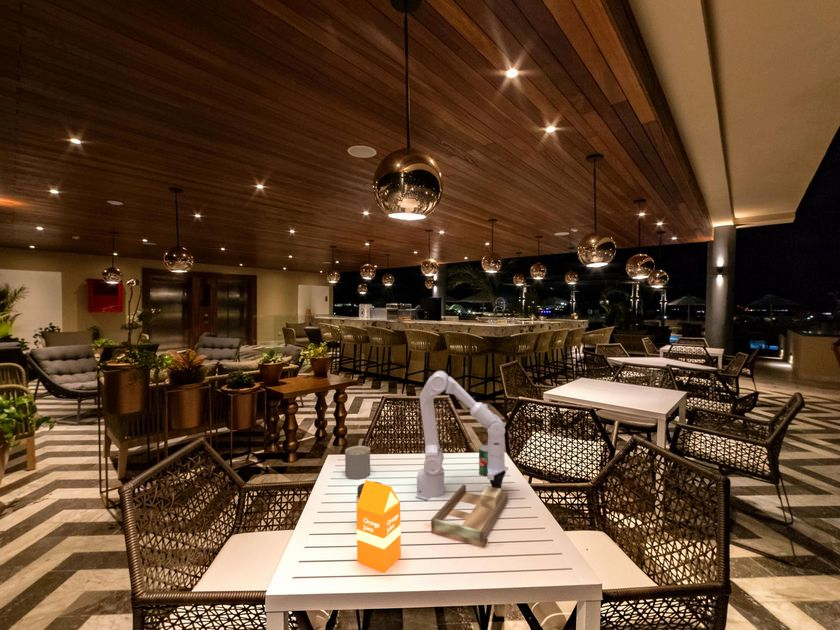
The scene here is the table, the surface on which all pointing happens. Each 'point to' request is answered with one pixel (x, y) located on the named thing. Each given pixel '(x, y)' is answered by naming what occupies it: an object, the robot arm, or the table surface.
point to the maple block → (490, 497)
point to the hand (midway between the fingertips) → (496, 492)
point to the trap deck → (467, 519)
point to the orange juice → (378, 527)
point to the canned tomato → (483, 460)
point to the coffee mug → (357, 462)
